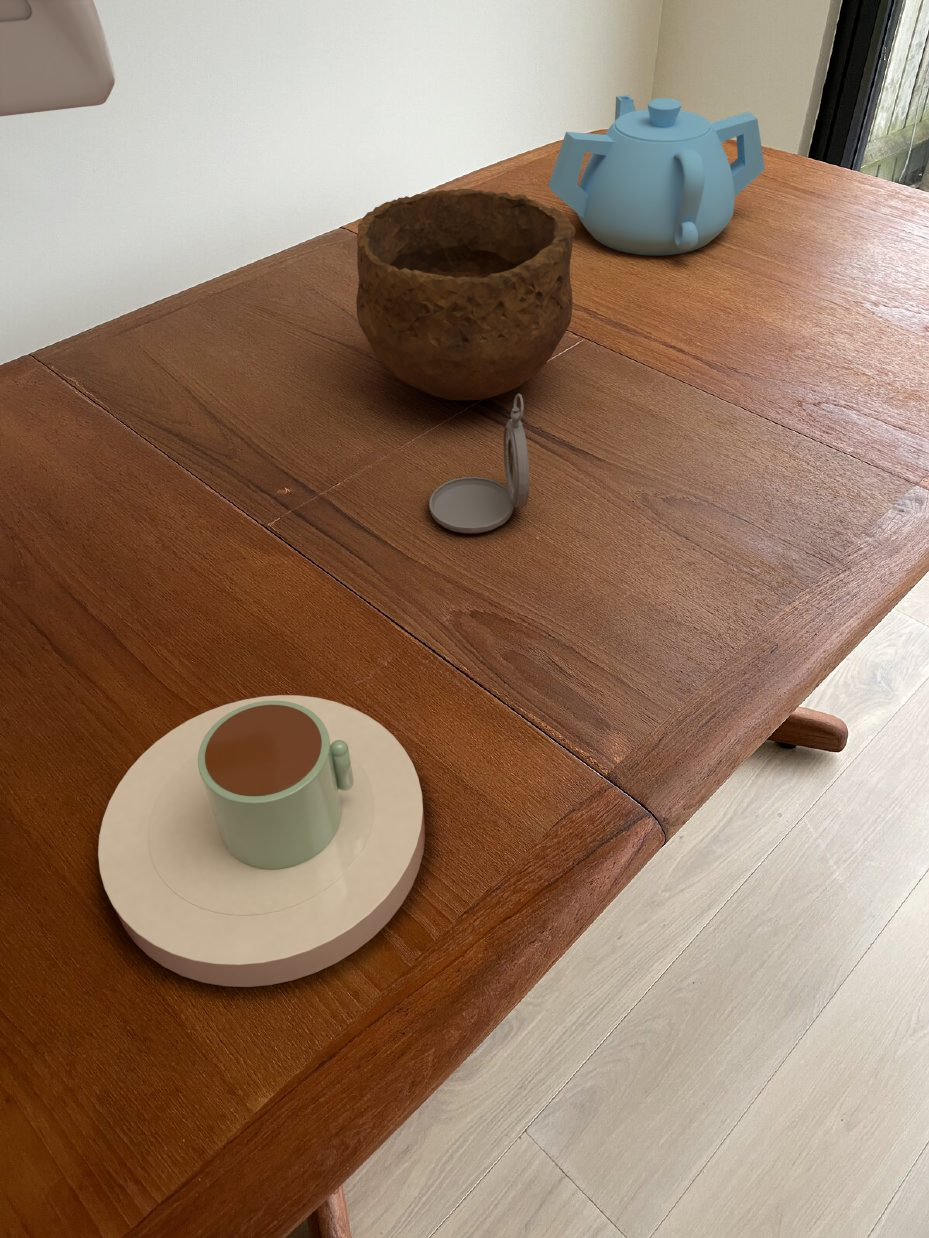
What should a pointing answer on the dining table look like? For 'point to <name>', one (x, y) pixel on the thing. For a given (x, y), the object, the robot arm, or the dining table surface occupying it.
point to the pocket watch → (487, 488)
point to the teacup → (274, 783)
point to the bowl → (464, 289)
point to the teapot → (657, 177)
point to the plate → (249, 896)
